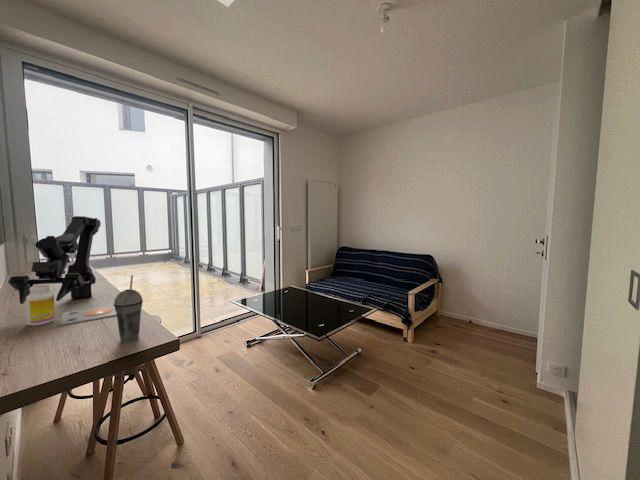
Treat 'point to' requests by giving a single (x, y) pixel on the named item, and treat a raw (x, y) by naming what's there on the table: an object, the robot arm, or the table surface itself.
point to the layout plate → (87, 315)
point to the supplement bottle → (40, 305)
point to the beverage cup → (128, 313)
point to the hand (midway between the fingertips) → (39, 302)
